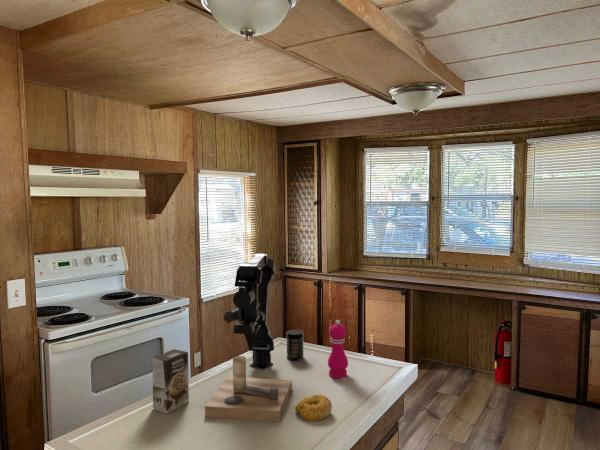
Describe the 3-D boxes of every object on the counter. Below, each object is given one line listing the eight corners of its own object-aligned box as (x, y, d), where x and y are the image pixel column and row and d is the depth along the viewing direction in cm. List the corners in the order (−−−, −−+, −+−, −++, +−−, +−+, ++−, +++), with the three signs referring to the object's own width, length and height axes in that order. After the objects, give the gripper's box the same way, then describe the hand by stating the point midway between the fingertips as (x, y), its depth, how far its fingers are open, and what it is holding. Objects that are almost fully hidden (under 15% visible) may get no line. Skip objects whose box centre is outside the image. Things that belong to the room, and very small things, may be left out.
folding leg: (237, 387, 144) (237, 355, 143) (280, 395, 138) (280, 362, 137) (230, 392, 140) (230, 359, 140) (274, 401, 134) (274, 366, 134)
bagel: (303, 403, 140) (303, 388, 140) (336, 410, 136) (336, 394, 135) (289, 417, 132) (288, 401, 131) (324, 425, 127) (324, 409, 126)
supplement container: (306, 359, 177) (305, 333, 177) (289, 362, 175) (289, 335, 174) (300, 354, 184) (300, 328, 183) (284, 356, 181) (284, 330, 181)
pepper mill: (348, 371, 165) (348, 317, 164) (348, 379, 158) (348, 323, 157) (328, 370, 166) (327, 317, 165) (327, 378, 159) (327, 322, 157)
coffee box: (167, 414, 133) (165, 360, 132) (152, 409, 137) (150, 356, 136) (189, 402, 141) (188, 351, 140) (175, 397, 145) (174, 348, 144)
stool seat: (228, 385, 154) (228, 375, 154) (292, 388, 151) (292, 379, 150) (205, 416, 132) (204, 405, 132) (279, 421, 129) (279, 410, 129)
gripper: (234, 294, 163) (235, 337, 164) (217, 307, 145) (218, 355, 146) (264, 295, 161) (265, 338, 162) (251, 308, 143) (251, 357, 144)
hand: (250, 346), depth 154 cm, fingers closed
